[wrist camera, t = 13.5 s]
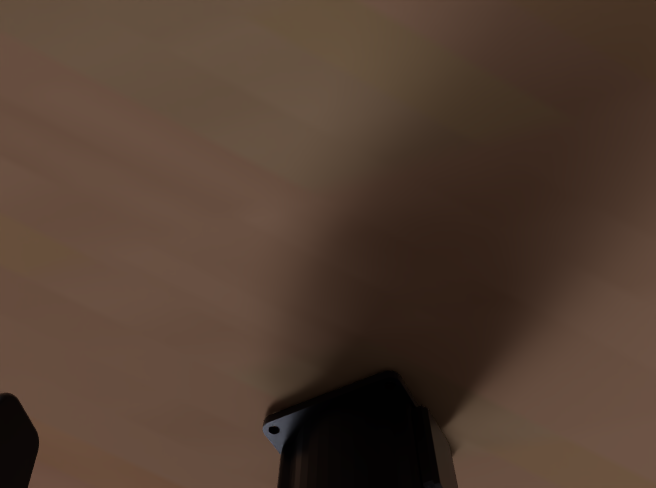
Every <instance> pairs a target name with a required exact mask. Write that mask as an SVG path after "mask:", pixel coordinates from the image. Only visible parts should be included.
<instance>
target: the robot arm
mask: <svg viewBox="0 0 656 488" xmlns="http://www.w3.org/2000/svg"><path fill="white" fill-rule="evenodd" d="M387 382H394V383H393V384H389V385H388V384H385V383H387ZM272 426H277V427H272ZM263 432H264V434H265V435H266V437H267V438H268V439H269V440H270V442H271V443H272V444H273V445H274V447H275V448H276V449H277V451H278V452H279V453H280V454H281V458H280V467H279V476H278V485H277V488H458V485H457V480H456V475H455V470H454V465H453V460H452V455H451V450H450V445H449V443H448V441H447V439H446V438H445V436H444V434H443V433H442V431H441V429H440V428H439V426H438V424H437V423H436V421H435V419H434V418H433V416H432V414H431V413H430V411H429V409H428V408H426V407H424V406H422V405H421V406H418V404H417V403H416V401H415V400H414V398H413V396H412V395H411V393H410V391H409V390H408V388H407V386H406V385H405V383H404V381H403V380H402V378H401V376H400V375H399V374H398V373H397V372H394V371H384V372H382V373H379V374H376V375H374V376H371V377H369V378H366V379H363V380H361V381H358V382H356V383H353V384H350V385H348V386H345V387H343V388H340V389H337V390H335V391H332V392H330V393H327V394H324V395H322V396H319V397H317V398H314V399H311V400H309V401H306V402H303V403H301V404H298V405H296V406H293V407H290V408H288V409H285V410H283V411H280V412H277V413H275V414H272V415H270V416H268V417H266V418H265V420H264V424H263ZM38 448H39V437H38V433H37V431H36V429H35V427H34V425H33V424H32V422H31V420H30V419H29V417H28V415H27V413H26V412H25V410H24V408H23V407H22V405H21V403H20V401H19V400H18V398H17V397H16V396H14V395H13V394H11V393H1V394H0V488H28V485H29V481H30V478H31V474H32V470H33V467H34V463H35V460H36V456H37V453H38Z"/></svg>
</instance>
